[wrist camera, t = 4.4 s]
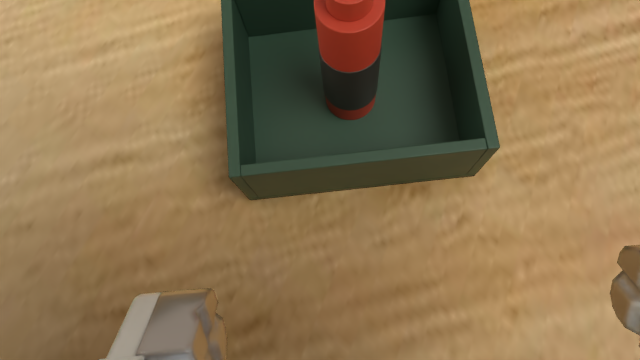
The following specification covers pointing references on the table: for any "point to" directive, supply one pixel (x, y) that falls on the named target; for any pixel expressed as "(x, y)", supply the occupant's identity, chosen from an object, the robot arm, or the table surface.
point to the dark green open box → (364, 133)
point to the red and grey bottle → (350, 53)
